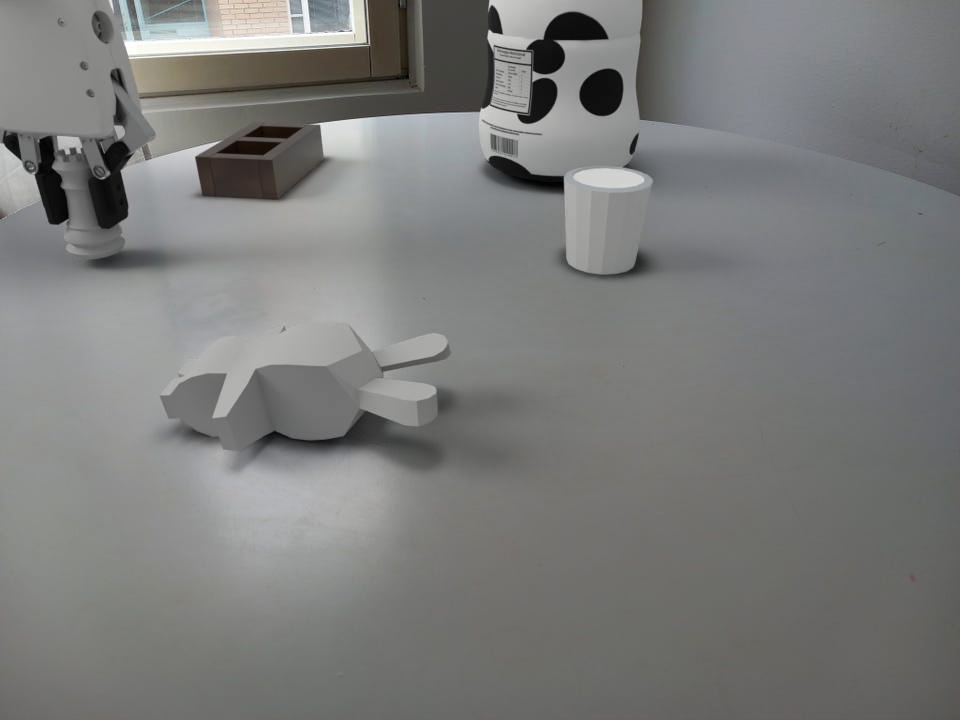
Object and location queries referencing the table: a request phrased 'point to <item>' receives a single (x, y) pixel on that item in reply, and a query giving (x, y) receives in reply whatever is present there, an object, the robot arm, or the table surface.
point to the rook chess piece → (84, 210)
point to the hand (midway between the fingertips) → (89, 218)
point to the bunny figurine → (300, 384)
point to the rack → (260, 160)
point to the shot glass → (604, 217)
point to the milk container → (560, 86)
